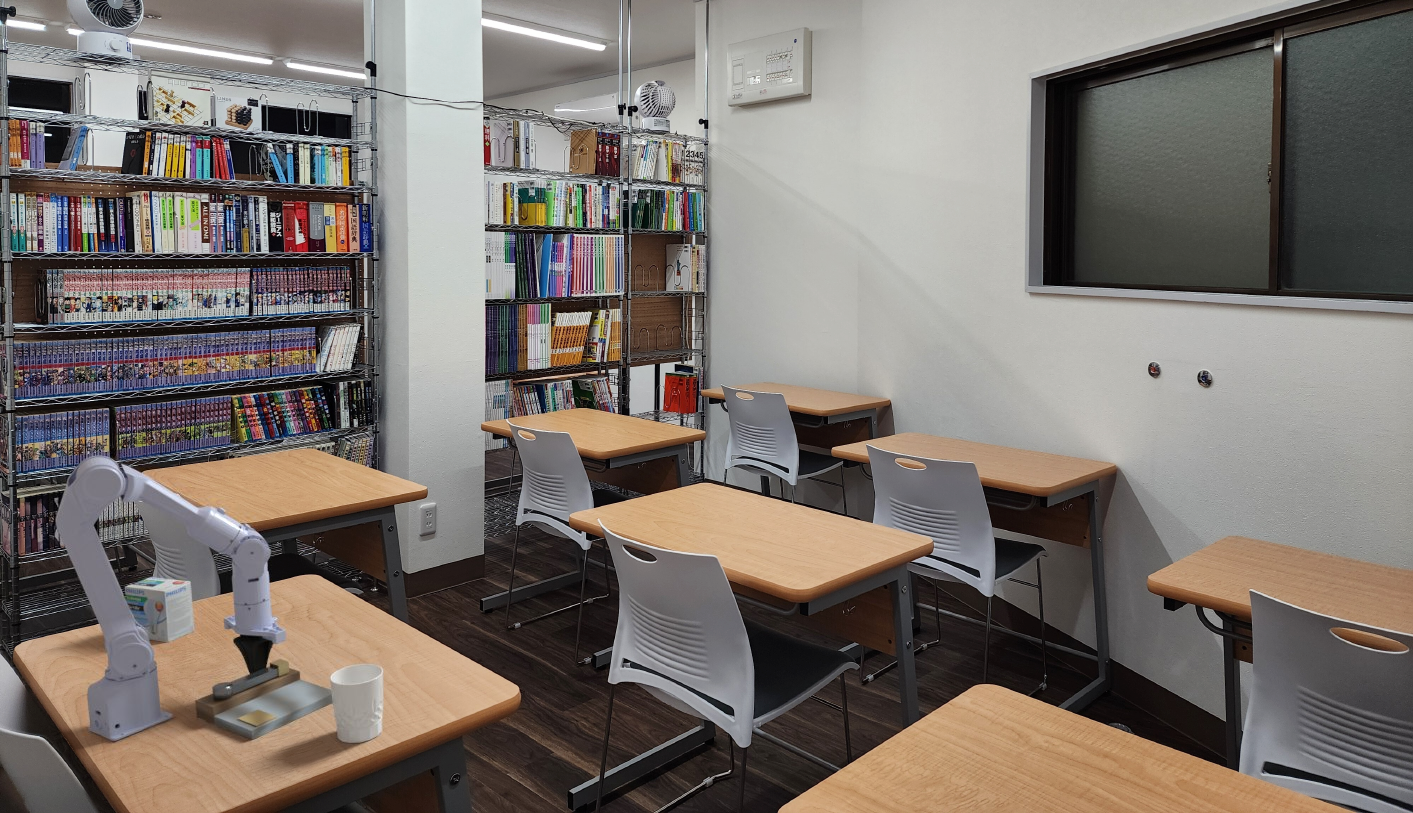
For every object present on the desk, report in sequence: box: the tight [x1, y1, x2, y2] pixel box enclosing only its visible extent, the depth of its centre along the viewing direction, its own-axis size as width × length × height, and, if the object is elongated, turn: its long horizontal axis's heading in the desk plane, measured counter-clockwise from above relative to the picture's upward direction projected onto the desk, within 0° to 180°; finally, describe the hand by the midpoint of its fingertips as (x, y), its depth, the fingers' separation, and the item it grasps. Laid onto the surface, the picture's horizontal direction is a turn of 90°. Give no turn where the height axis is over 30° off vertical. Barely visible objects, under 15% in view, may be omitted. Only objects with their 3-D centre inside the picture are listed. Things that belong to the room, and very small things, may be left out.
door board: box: [194, 667, 333, 741], centre depth 157 cm, size 16×15×3 cm
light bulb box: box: [124, 576, 195, 643], centre depth 190 cm, size 11×7×11 cm, turn 73°
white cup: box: [329, 663, 384, 744], centre depth 148 cm, size 8×8×10 cm
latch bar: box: [211, 658, 290, 700], centre depth 159 cm, size 13×3×2 cm, turn 149°
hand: (257, 674), depth 163 cm, fingers closed
